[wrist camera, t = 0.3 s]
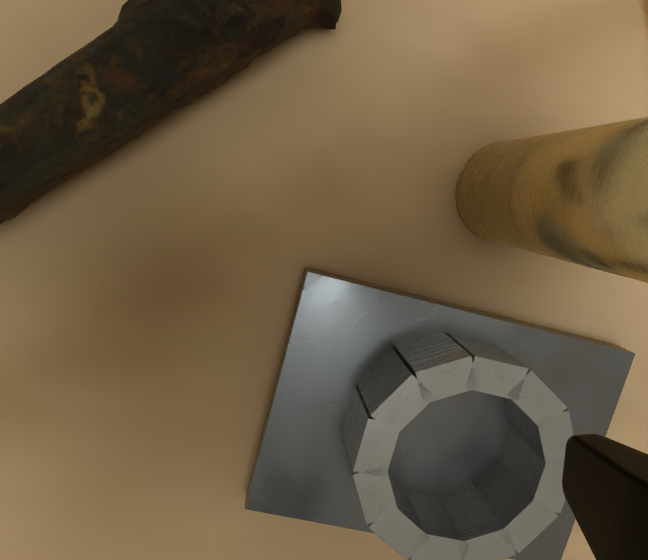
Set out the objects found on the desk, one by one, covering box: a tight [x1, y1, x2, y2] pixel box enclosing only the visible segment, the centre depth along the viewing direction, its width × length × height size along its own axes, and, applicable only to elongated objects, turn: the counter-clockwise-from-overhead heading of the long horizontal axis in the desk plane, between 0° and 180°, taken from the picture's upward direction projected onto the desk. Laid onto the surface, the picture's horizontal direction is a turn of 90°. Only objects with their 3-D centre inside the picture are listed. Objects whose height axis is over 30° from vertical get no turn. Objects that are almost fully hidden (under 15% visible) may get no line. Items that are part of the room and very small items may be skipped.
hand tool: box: [0, 0, 341, 223], centre depth 18 cm, size 19×4×5 cm, turn 120°
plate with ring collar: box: [245, 267, 635, 560], centre depth 22 cm, size 10×14×4 cm
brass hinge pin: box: [456, 117, 648, 283], centre depth 16 cm, size 4×4×13 cm
